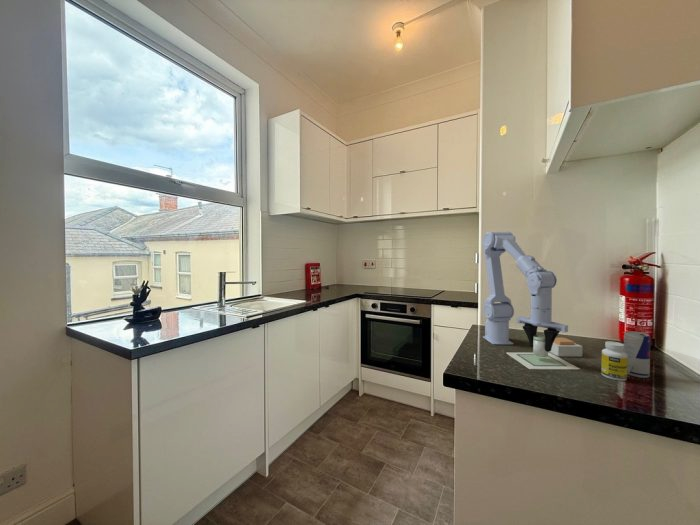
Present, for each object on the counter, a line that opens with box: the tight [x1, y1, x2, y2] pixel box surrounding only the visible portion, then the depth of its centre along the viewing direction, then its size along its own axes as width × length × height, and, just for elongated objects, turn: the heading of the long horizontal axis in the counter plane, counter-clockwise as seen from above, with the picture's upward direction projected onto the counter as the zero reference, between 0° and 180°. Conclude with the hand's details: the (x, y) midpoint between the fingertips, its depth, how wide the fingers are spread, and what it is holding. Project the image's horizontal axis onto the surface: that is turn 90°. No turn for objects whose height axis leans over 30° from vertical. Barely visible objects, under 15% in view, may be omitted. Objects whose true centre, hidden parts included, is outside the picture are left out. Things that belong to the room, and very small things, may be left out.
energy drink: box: [623, 330, 651, 379], centre depth 81 cm, size 5×5×12 cm
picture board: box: [505, 352, 581, 371], centre depth 93 cm, size 14×15×1 cm
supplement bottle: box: [600, 340, 628, 382], centre depth 80 cm, size 5×5×10 cm
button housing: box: [548, 342, 584, 358], centre depth 100 cm, size 8×8×4 cm
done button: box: [554, 337, 575, 345], centre depth 100 cm, size 5×5×2 cm
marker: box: [532, 334, 549, 357], centre depth 92 cm, size 4×4×6 cm
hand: (540, 348), depth 92 cm, fingers closed on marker, 4 cm apart
